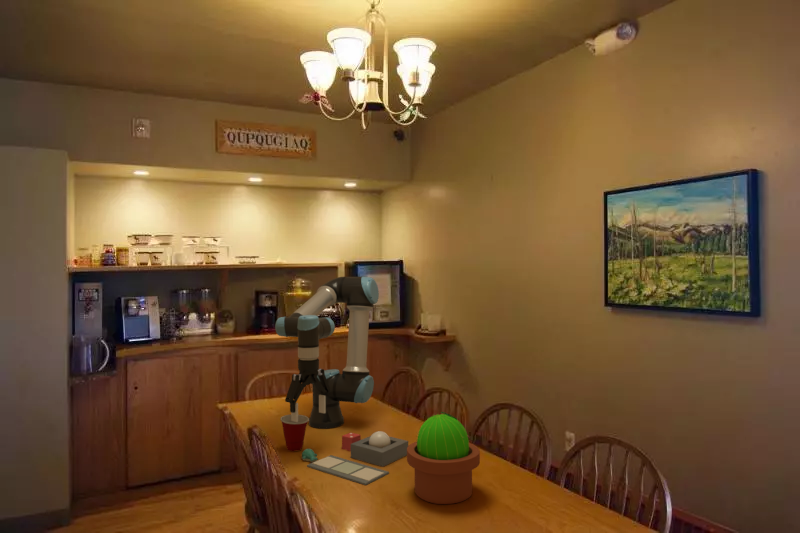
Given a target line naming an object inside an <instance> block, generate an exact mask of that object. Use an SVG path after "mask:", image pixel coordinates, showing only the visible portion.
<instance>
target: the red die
mask: <svg viewBox="0 0 800 533" xmlns="http://www.w3.org/2000/svg"><path fill="white" fill-rule="evenodd" d="M359 440H362V438H361V434H359V433H356V432H355V433H354V432H349V433H346V434H344V435H341V449H342V450H345V451H349V452H351V444H352V443H355V442H357V441H359Z"/></svg>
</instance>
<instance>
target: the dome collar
mask: <svg viewBox="0 0 800 533" xmlns="http://www.w3.org/2000/svg"><path fill="white" fill-rule="evenodd" d="M388 436H389V435H388ZM370 437H371V435H369V436H366V437H365V438H361V440H359V441H357V442H355V443H352V444H351V451H350V458H351V459H354V460H358V461H360V462H364V463H368V464H371V465H375V466H379V467H385V466H388V465H389V464H392V463H393V462H396V461H398V460H400V459H402V458H405V457H407V447H408V446H409V440H406V439H401V438H396V437H393V436H389V438H390V441H391V444H390V445H388V446H386V447H384V448H382V449H381V448H377V447H374V446H370V445H369V439H370Z"/></svg>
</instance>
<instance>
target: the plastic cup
mask: <svg viewBox="0 0 800 533" xmlns="http://www.w3.org/2000/svg"><path fill="white" fill-rule="evenodd" d="M309 418H310V417H308V416H306V415H303V414H298V422H294V421H291V414H286V415H283V416H281V417H280V422H281V425H282V426H281V427H282V430H283V435H284V441H285V445H286V450H287V451H288V452H298V451H301V450H302V449H303V446H304V440H305V435H306V431H307V430H306V429H307V427H308V426H307V425H308V423H309Z"/></svg>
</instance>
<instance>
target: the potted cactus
mask: <svg viewBox="0 0 800 533" xmlns="http://www.w3.org/2000/svg"><path fill="white" fill-rule="evenodd" d="M440 413H441V414H439V413H437V414H436V415H435V414H434V413H433V415H431V416H429V417H428V418H427V420H426V419H425V421H424V422H423V421H422V424H421V426H420V428H419V430H418V432H416V433H417V435H415V437H417V438H416V441H415V442H412V443H410V444H408V447H407V455H406V463H407V464H408V465H409V466H410V467H411V468H412V469H414V492H415V494H416V496H418V498H420V499H422V500H423V501H425V502H428V503H431V504H436V505H451V504H452V505H453V504H457V503H461V502H464V501H466V500H468V499H469V498H471V496H472V495H473V494H472V493H473V470H475V469H476V468H478V467H479V466H480V463H481V462H480V461H481V453H480V451H481V450H480V449H479V447H477V446H476V445H475V444H474V443H472V442H470V440H469V439H470V435H468V432H467V429H466V428H465V427H464V424H462V423H461V422H460V420H458V419H459V418H457V417H455V416H453V415H452V414H450V413H447V412H445V411H444V412H443V411H441V412H440Z"/></svg>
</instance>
